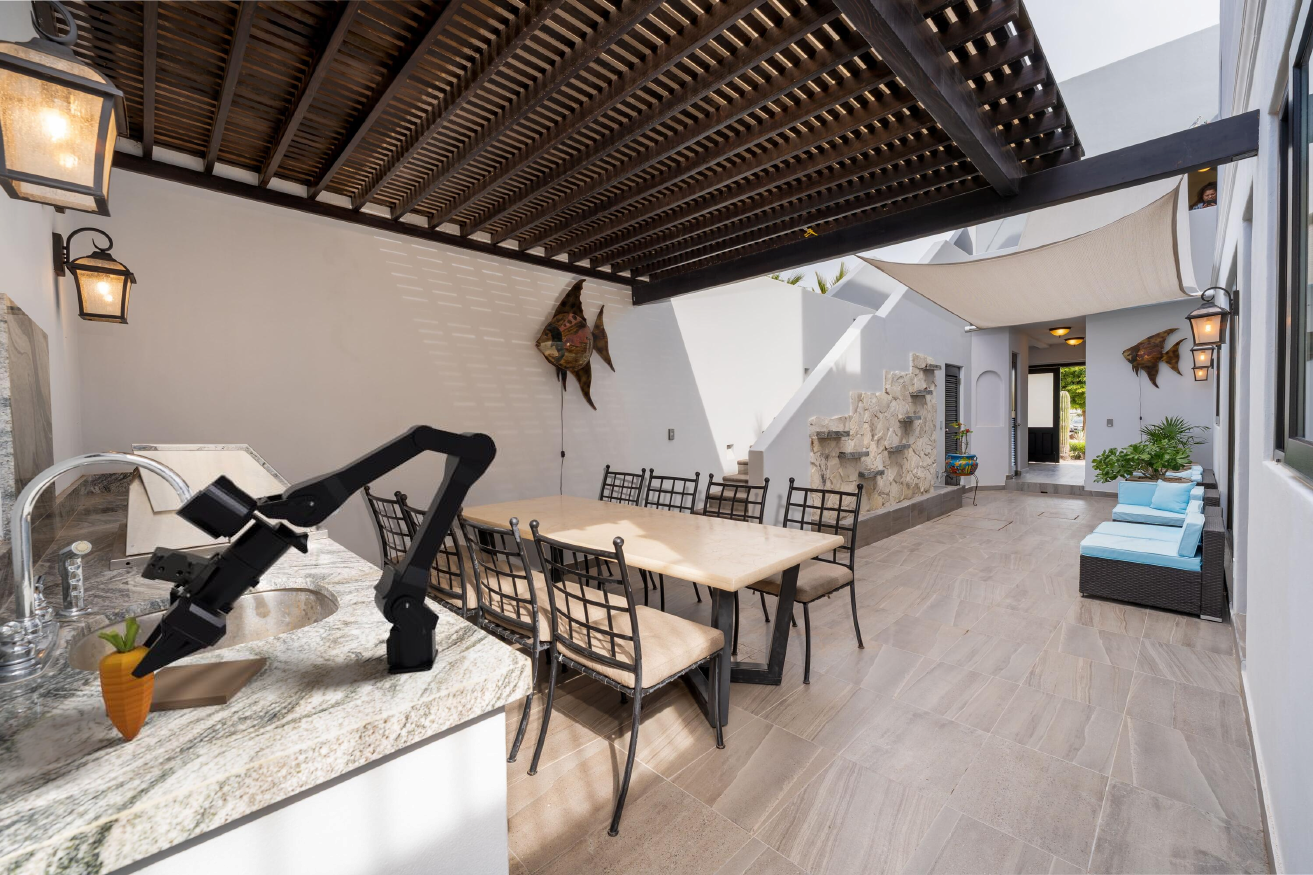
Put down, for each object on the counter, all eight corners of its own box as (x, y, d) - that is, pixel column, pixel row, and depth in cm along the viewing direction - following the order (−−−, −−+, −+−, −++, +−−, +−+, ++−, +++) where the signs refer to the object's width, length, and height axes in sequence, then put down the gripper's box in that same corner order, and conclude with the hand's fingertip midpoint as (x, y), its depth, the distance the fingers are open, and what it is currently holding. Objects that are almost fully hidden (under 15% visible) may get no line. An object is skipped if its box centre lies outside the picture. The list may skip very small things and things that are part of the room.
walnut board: (266, 664, 89) (266, 657, 89) (226, 703, 77) (226, 694, 77) (164, 674, 86) (164, 666, 86) (106, 716, 74) (105, 707, 74)
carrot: (124, 754, 66) (117, 630, 65) (91, 749, 67) (84, 627, 66) (168, 730, 71) (162, 614, 70) (137, 726, 72) (131, 612, 71)
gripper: (193, 513, 79) (87, 606, 73) (185, 536, 64) (51, 655, 58) (263, 558, 84) (170, 649, 78) (271, 590, 69) (156, 705, 63)
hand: (139, 662), depth 69 cm, fingers open, 9 cm apart
